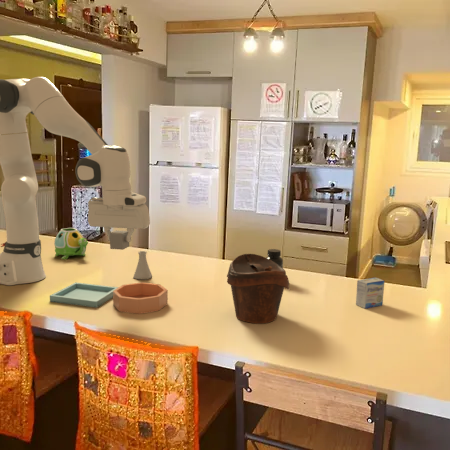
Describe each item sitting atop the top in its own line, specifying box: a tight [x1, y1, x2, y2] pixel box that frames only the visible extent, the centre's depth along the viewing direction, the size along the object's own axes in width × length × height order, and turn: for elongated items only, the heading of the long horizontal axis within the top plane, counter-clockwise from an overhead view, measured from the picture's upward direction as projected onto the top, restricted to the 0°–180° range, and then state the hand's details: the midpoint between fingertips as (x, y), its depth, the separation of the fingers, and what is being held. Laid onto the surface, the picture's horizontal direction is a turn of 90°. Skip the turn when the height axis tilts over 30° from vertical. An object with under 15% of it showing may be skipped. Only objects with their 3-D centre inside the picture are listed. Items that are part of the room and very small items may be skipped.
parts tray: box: [49, 282, 119, 308], centre depth 166 cm, size 17×15×2 cm
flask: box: [132, 250, 153, 280], centre depth 188 cm, size 7×7×10 cm
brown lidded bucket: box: [226, 253, 290, 325], centre depth 150 cm, size 18×20×18 cm
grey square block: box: [109, 230, 130, 251], centre depth 158 cm, size 4×4×5 cm
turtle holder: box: [54, 227, 89, 260], centre depth 216 cm, size 12×18×12 cm
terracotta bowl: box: [112, 282, 169, 315], centre depth 160 cm, size 16×16×5 cm
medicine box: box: [355, 277, 385, 310], centre depth 163 cm, size 8×4×9 cm, turn 117°
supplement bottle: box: [265, 248, 284, 269], centre depth 187 cm, size 7×7×12 cm
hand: (119, 241), depth 158 cm, fingers closed on grey square block, 4 cm apart
